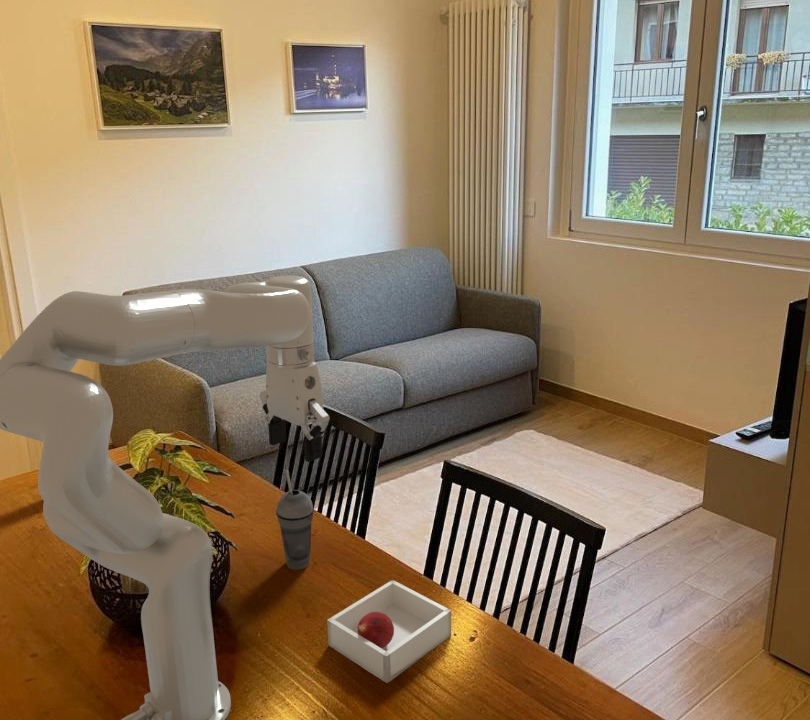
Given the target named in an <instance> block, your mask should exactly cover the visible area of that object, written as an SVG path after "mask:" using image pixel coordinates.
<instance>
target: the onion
mask: <svg viewBox="0 0 810 720" xmlns="http://www.w3.org/2000/svg"><path fill="white" fill-rule="evenodd" d="M358 635H360V636H362V637H363V638H365V639H367V640H368V641H370V642H372V643H373V644H375V645H376V646H378V647H380V648H381V649H382V648H384V647H386V646H387V645H388V644H389V643H390V641H391V640H392V638H393V635H394V626H393V623H392V620H391V619H390V618H389V617H388V616H387V615H386V614H383V613H380V612H371V613H368V614H367V615H365V616H364V617H363V618H362V619H361V620H360V621H359V624H358Z"/></svg>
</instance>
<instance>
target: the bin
mask: <svg viewBox="0 0 810 720" xmlns="http://www.w3.org/2000/svg"><path fill="white" fill-rule="evenodd" d="M371 612H380V613H383V614H386V615H387V616H388V617H389V618H390V619H391V620H392V623H393V626H394V635H393V638H392V640H391V641H390V643H389V644H388V645H387V646H386V647H384V648H382V649H381V648H380V647H378V646H376V645H375V644H373V643H372V642H370V641H368V640H367V639H365V638H363V637H362V636H360V635H358V624H359V621H360V620H361V619H362V618H363V617H364V616H365V615H367V614H368V613H371ZM326 625H327V643H328V646H329V647H330V648H332V649H333V650H335V651H336V652H338V653H339V654H341V655H342V656H344V657H345V658H347V659H348V660H349V661H351V662H353V663H355V664H357V665H358V666H359V667H361V668H362V669H364V670H365V671H367V672H369V673H370V674H372V675H374V677H377V678H378V679H380V680H381V681H383V682H385V683H386V684H388V683H390V682H391V681H393V680H394V679H396V677H398V676H399V675H400V674H403V672H405V671H406V670H407V669H409V668H410V667H411V666H412V665H414V664H415V663H417V662H418V661H419V660H420V659H422V658H423V657H425V656H426V655H427V654H429V653H430V652H431V651H433V650H434V649H435V648H437V647H438V646H439V645H441V644H442V643H444V642H445V641H446V640H448V639H449V638H450V637H452V610H451V609H449V608H447V607H446V606H444V605H442V604H440V603H438V602H436V601H434V600H432V599H431V598H428V597H427V596H425V595H423V594H421V593H419V592H417V591H415V590H413V589H411V588H409V587H407V586H405V585H404V584H402V583H400V582H397V581H396V580H394V579H391V580H390V581H388V582H387V583H385V584H384V585H382V586H380V587H378V588H377V589H375V590H374V591H372V592H369V594H367V595H365V596H364V597H362V598H361V599H358V601H355V602H354V603H352V604H350V605H349V606H347V607H346V608H344V609H343V610H341V611H340V612H338V613H336V614H334V615H332V616H331V617H330V618H328V619H327V624H326Z"/></svg>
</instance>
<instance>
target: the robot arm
mask: <svg viewBox="0 0 810 720" xmlns="http://www.w3.org/2000/svg"><path fill="white" fill-rule="evenodd" d="M312 301H313V299H312V286H311V283H310V281H309V280H308V279H307V278H305V277H304V276H299V275H277V276H273V277H270V278H268V279H267V280H264V281H255V282H252V281H250V282H239V283H236V284H233V285H230V286H228V287H227V288H225V290H223V291H220V290H219V291H218V290H211V289H202V288H201V289H200V288H179V289H172V290H162V291H153V292H143V293H134V294H124V295H109V294H102V293H101V294H100V293H93V292H88V291H87V292H86V291H79V290H78V291H76V290H75V291H69V292H66V293H63V294H61V295H60V296H59V297H57V298H56V299H54V300H52V302H50V303H49V304H48V305H47V306H45V308H43V309H42V311H41V312H40V313H39V314H38V315H37V316H36V317H35V318H34V319H33V320H32V321H31V322H30V323H29V325H28V326H27V327H26V328H25V329H24V330H23V332H21V334H20V335H19V336H18V338H17V339H16V340H15V341H14V342H13V344H12V345H11V346H10V347H9V348H8V349H7V350H6V352H4V354H3V355H2V356H1V357H0V430H3V431H6V432H8V433H11V434H15V435H18V436H22V437H26V438H29V439H32V440H36V441H39V442H42V451H41V457H40V462H39V469H38V479H37V480H38V481H37V489H38V492H39V494H40V497H41V498H42V499H41V500H43V504H42V505H43V506H42V510H43V517H44V521H45V523H46V525H47V526H48V528H49V529H50V531H51V532H52V533H53V534H54V535H55V536H56V537H58V539H60V540H62V541H64V543H66V544H68V545H69V546H71V547H73V548H74V549H75V550H77V551H78V552H80V553H81V554H83V555H85V556H86V557H88V558H89V559H90V560H92V561H93V562H95V563H97V564H98V565H100V566H102V567H104V568H106V569H108V570H111V571H112V572H116V573H118V574H120V575H123V576H126V577H128V578H132V579H133V580H136V581H138V582H140V583H143V584H144V585H145V586H146V587H147V588H148V595H147V598H146V599H145V601H144V603H143V604H142V606H141V611H140V613H141V614H140V621H141V622H140V624H141V629H142V635H143V637H142V638H143V643H144V650H145V660H146V666H147V674H148V681H149V689H150V691H149V692H147V693H146V694H144V703H143V704H141V705H140V706H139V709H138V710H137V711H134V712H132V713H130V714H129V715H126V716H125V717H123V718H121V719H120V720H226V719H227V717H228V716H229V715H230V714H229V713H230V711H231V707H232V699H231V694H230V691H229V689H228V687H226V686H225V684H223V683H222V682H221V681H219V679H218V670H217V669H218V668H217V658H216V648H215V640H214V639H215V637H214V628H213V617H212V616H213V615H212V607H211V606H212V605H211V595H210V594H211V593H210V592H211V591H210V589H211V588H210V581H211V580H210V579H211V570H212V563H213V544H212V540H211V539H210V537H209V535H208V534H207V532H206V531H205V530H204V529H203V528H201V527H200V526H198V525H197V524H195V523H193V522H191V521H189V520H187V519H184V518H180V517H177V516H175V515H171V514H169V513H164V512H163V510H162V508H161V506H160V504H159V502H158V500H157V499H156V498H155V496H154V495H153V493H152V492H150V491H149V490H147V488H145V486H143V485H141V484H140V483H139V482H137V481H136V480H135V479H134V478H133V477H132V476H130V475H129V474H128V473H127V472H126V471H124V470H123V468H121V467H120V466H119V465H117V463H116V462H115V461H114V460H113V459H112V458H111V457H110V454H109V444H110V438H111V437H110V436H111V431H112V427H113V423H114V422H113V420H114V412H113V411H114V408H113V404H112V401H111V398H110V395H109V393H108V392H107V390H106V389H105V388H104V387H103V385H101V384H100V383H99V382H98V381H96V380H94V379H92V378H91V377H89V376H87V375H84V374H83V373H82V374H81V373H77V372H73V371H72V370H73V369H74V367H75V365H76V364H77V363H78V362H79V360H82V361H87V362H92V363H96V364H97V363H98V364H102V365H109V366H116V367H117V366H118V367H119V366H128V365H134V364H140V363H144V362H150V361H155V360H158V359H162V358H167V357H173V356H177V355H182V354H187V353H193V352H215V351H224V350H225V351H226V350H234V349H235V350H236V349H237V350H238V349H249V348H262V347H266V359H267V360H266V361H267V363H266V372H265V373H266V374H265V375H266V376H265V390H263V391H261V392H260V393H259V397H260V400H261V403H262V410H263V411H264V413H265V415H266V416H265V420H266V422H267V423H268V426H267V427H268V440H269V441H268V442H269V445H271V446H275V445H278V444H281V443H284V442H286V441H287V424H286V422H288V423H291V424H294V425H296V426H300V427H301V429H302V431H303V433H304V435H305V438H304V439H303V446H304V449H303V450H304V461H305V462H306V463H307V462H308V463H310V462H313V461H315V460H317V459H318V460H319V459H321V458H322V457H323V439H322V438H323V436H324V435H325V432H326V431H327V430H328V425H329V422H330V419H331V418H330V415H329V414H328V413H327V412H326V410H324V397H323V391H322V390H323V389H322V382H321V376H320V372H319V368H318V364H317V362H315V353H314V352H315V349H314V348H315V347H314V346H315V345H314V326H313V322H314V321H313V304H312V303H313V302H312ZM311 424H312V426H313V428H312V429H311V428H310V426H309V425H311Z"/></svg>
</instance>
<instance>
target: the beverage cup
mask: <svg viewBox="0 0 810 720" xmlns="http://www.w3.org/2000/svg"><path fill="white" fill-rule="evenodd" d="M285 475H286V481H287V485H288V491H287V492H285V493H284V494H282V496H281V497H280V498H279V500H278V502H277V506H276V512H275V514H276V517H277V521H278V524H279V527H280V533H281V540H282V541H281V542H282V547H283V552H284V553H283V554H284V558H285V561H286V567H288V569H291V570H303V569H306V568H307V567H308V566H309V565H310V562H311V561H310V560H311V547H312V546H311V545H312V521H313V518H314V512H315V509H314V506H313V502H312V500H311V498H310V496H309V495H308V494H307V493H305V492H304V491H302V490H299V489H292V484H291V479H290V478H291V477H290V472H289V469H286V470H285Z"/></svg>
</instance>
